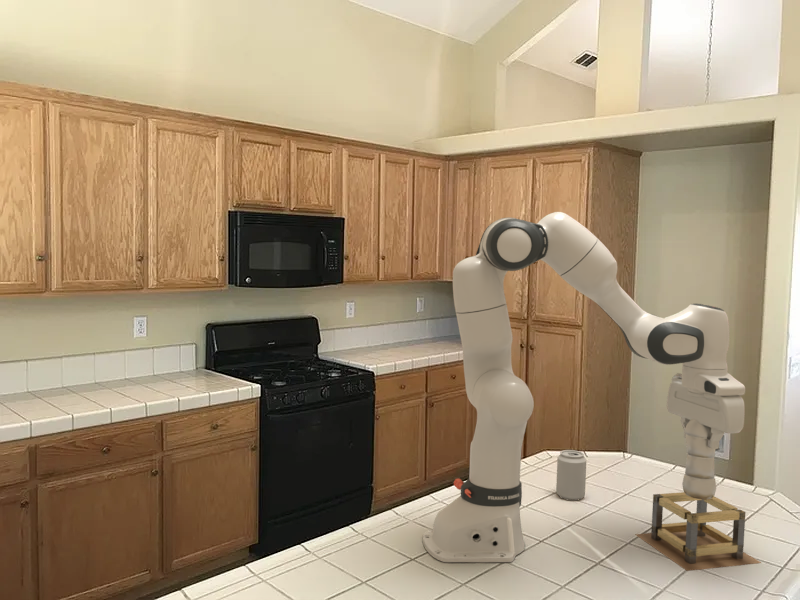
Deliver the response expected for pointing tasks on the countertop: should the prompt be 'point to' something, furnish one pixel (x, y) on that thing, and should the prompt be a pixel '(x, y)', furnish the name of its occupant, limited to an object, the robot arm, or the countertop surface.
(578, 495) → the can
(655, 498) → the frame
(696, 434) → the plastic bottle
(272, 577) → the countertop surface
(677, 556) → the walnut board
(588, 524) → the countertop surface
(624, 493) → the countertop surface
